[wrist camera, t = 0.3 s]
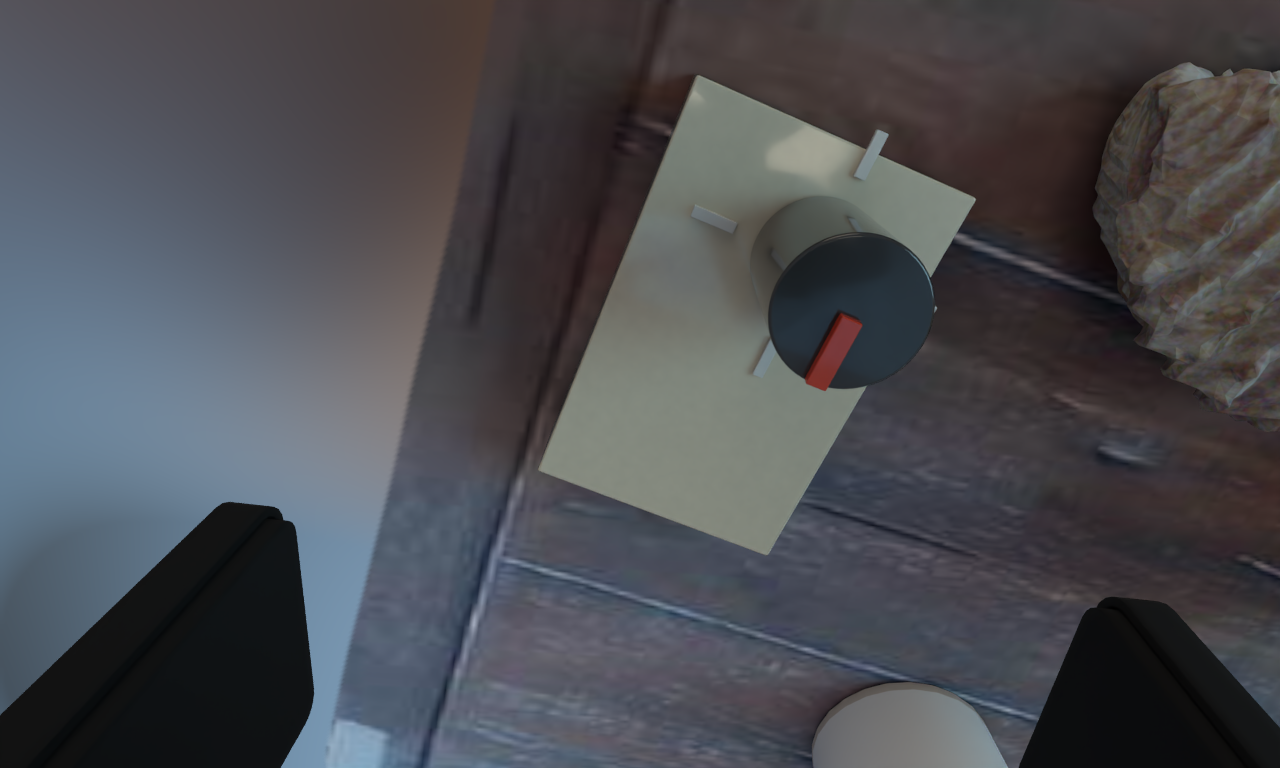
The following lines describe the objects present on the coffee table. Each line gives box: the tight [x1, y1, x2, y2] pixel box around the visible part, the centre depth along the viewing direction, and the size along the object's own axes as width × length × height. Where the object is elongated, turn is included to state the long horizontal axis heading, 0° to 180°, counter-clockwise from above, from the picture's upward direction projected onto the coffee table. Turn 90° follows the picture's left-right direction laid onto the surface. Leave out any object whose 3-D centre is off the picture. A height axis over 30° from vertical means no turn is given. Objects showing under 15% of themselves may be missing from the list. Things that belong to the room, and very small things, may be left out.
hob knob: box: [750, 196, 935, 391], centre depth 20 cm, size 4×4×6 cm
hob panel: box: [538, 74, 976, 555], centre depth 25 cm, size 15×10×3 cm, turn 158°
